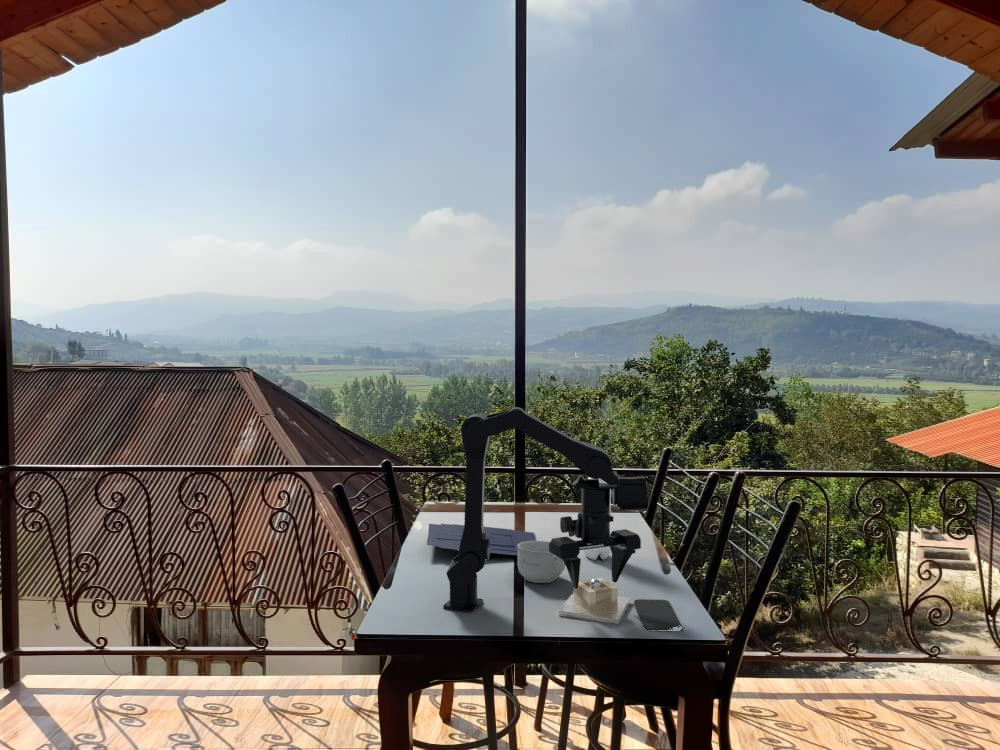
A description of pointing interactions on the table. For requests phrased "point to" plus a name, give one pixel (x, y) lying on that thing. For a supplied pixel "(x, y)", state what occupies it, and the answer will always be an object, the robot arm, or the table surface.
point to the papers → (500, 538)
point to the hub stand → (605, 615)
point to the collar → (596, 596)
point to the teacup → (538, 562)
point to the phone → (656, 614)
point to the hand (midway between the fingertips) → (595, 585)
